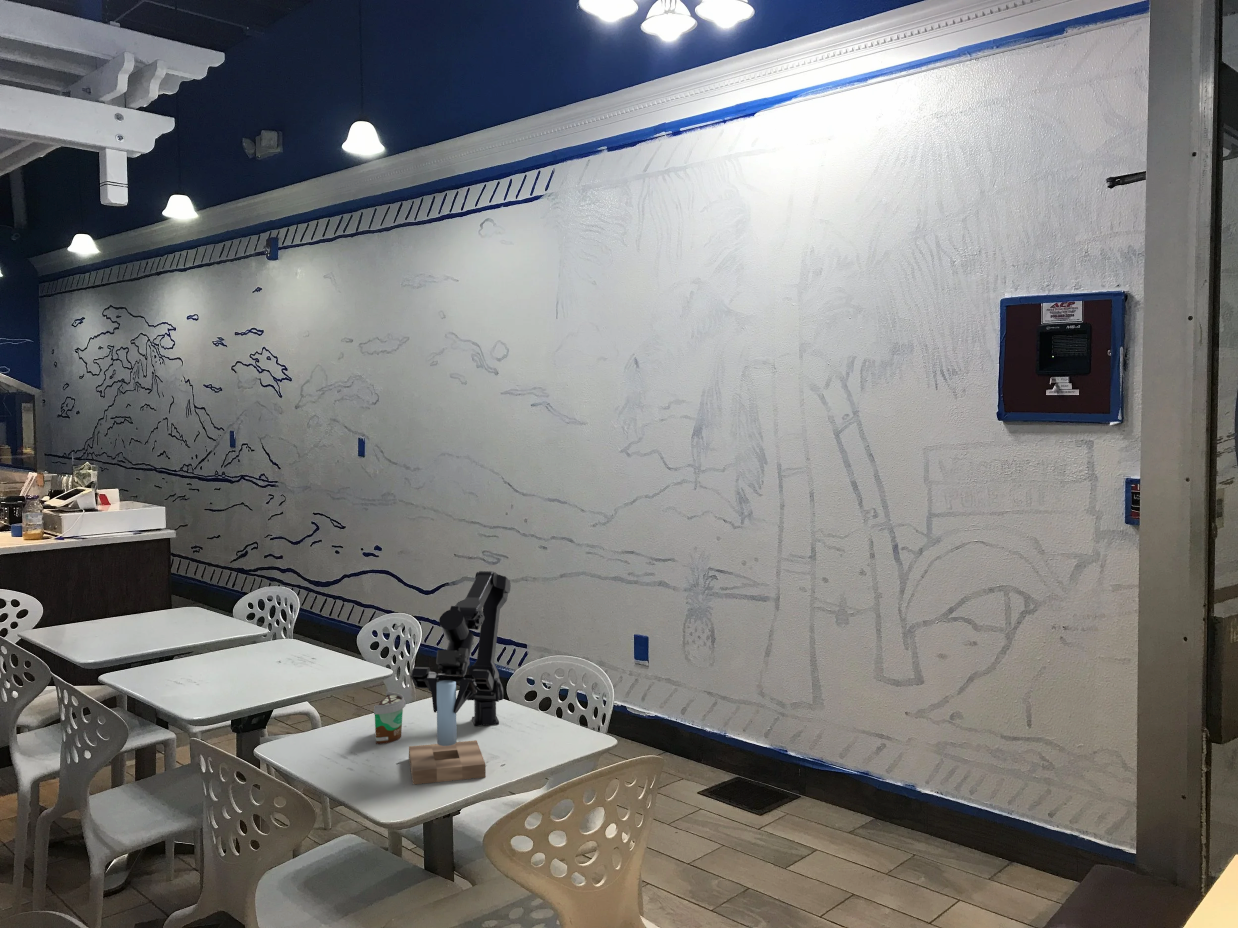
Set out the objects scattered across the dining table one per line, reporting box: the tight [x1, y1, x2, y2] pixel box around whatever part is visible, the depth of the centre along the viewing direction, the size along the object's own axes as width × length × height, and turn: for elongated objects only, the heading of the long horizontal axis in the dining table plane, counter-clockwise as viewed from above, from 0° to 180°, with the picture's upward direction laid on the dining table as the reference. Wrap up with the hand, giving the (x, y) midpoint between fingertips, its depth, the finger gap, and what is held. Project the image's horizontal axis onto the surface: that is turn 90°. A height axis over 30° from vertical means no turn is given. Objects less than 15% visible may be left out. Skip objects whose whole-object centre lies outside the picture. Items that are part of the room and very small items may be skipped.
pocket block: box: [408, 739, 487, 785], centre depth 222 cm, size 16×16×3 cm
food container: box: [373, 691, 406, 745], centre depth 242 cm, size 12×6×10 cm, turn 179°
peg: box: [436, 680, 458, 746], centre depth 222 cm, size 4×4×14 cm
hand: (444, 712), depth 221 cm, fingers closed on peg, 4 cm apart
